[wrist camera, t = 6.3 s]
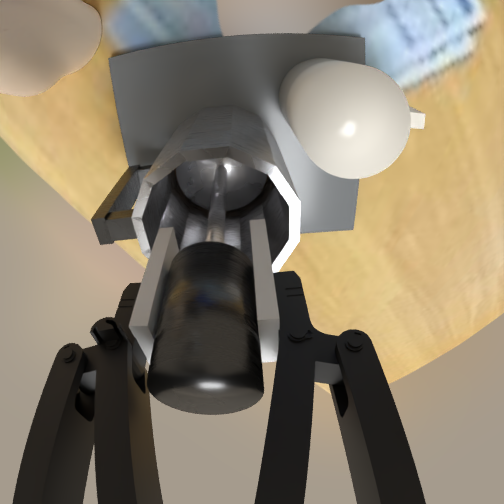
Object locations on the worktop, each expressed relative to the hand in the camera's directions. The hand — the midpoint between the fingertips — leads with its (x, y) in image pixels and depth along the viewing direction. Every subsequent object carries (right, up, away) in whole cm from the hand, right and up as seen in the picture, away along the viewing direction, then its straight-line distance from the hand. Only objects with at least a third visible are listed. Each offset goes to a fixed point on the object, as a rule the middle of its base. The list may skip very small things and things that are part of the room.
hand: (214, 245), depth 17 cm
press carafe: (-2, +8, +11) cm, 14 cm away
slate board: (+1, +10, +11) cm, 15 cm away
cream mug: (+9, +13, +8) cm, 18 cm away
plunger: (0, +7, +9) cm, 11 cm away
